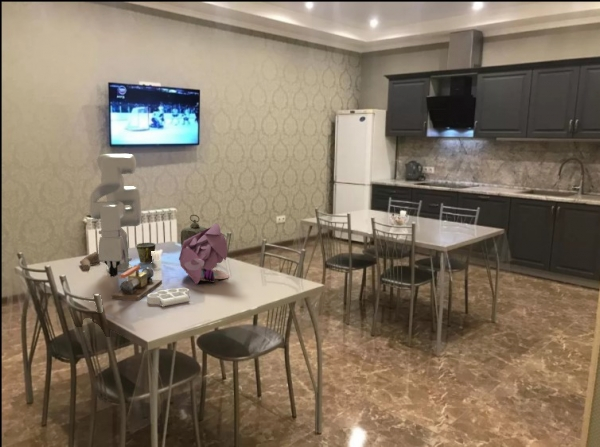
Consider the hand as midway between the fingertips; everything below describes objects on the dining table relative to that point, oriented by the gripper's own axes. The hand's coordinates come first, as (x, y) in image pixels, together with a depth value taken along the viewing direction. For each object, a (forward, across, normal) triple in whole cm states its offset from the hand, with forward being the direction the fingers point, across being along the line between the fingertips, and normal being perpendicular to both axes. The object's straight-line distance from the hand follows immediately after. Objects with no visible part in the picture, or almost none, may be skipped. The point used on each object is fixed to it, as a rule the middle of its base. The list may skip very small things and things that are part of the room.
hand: (113, 275), depth 209 cm
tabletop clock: (+10, +14, +67) cm, 70 cm away
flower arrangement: (+10, +31, +35) cm, 48 cm away
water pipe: (+8, +6, +10) cm, 14 cm away
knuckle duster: (+10, +24, 0) cm, 27 cm away
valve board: (+10, +6, +10) cm, 15 cm away
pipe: (+10, -34, +45) cm, 57 cm away
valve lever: (-1, +6, +3) cm, 7 cm away
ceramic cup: (+10, -8, +54) cm, 56 cm away
